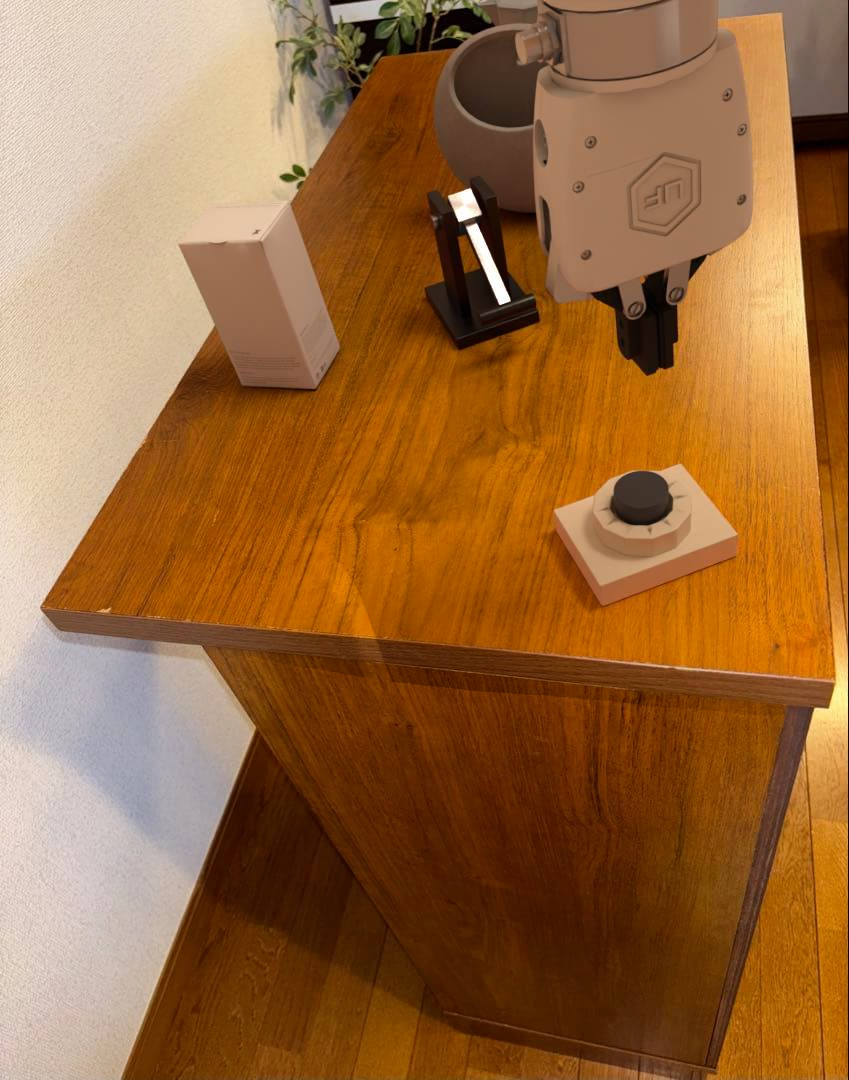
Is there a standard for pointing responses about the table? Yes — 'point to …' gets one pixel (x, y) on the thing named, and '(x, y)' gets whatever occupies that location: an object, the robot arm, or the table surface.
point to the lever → (485, 260)
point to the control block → (644, 538)
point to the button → (641, 498)
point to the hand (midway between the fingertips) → (648, 358)
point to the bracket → (471, 273)
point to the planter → (490, 115)
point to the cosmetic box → (262, 293)
